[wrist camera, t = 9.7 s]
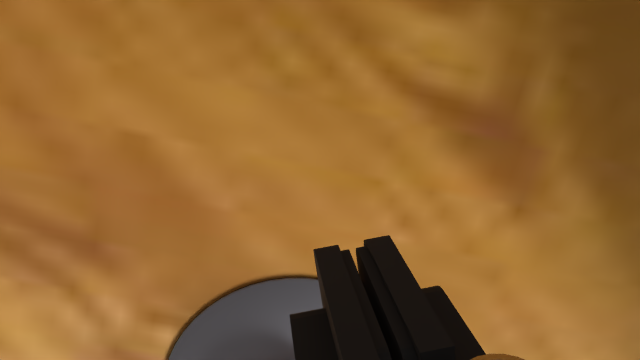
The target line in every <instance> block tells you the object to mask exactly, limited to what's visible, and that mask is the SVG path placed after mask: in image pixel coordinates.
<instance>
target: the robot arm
mask: <svg viewBox="0 0 640 360" xmlns="http://www.w3.org/2000/svg"><path fill="white" fill-rule="evenodd" d="M356 256H357V264H358V271H359V273H358V271H357V268H356V266H355V263H354V261H353V258H352V256H351V253H350V251H349V250H343V251H340V248H339V246H338V245H334V246H329V247H324V248H318V249H314V257H315V263H316V269H317V276H318V282H319V288H320V294H321V300H322V306H323V308H321V309H316V310H311V311H305V312H300V313H295V314H290V324H291V332H292V339H293V347H294V355H295V360H524V359H522V358H519V357H516V356H511V355H506V354H485V352H484V351H483V349H482V348H481V346H480V345H479V343H478V342H477V340H476V339H475V337H474V336H473V334H472V333H471V331H470V330H469V328H468V327H467V325H466V324H465V322H464V321H463V319H462V318H461V316H460V315H459V313H458V312H457V310H456V309H455V307H454V306H453V304H452V303H451V301H450V300H449V298H448V297H447V295H446V294H445V292H444V291H443V289H442V288H441V287H440V286H433V287H428V288H423V289H421V288H420V286H419V285H418V283H417V281H416V280H415V278H414V276H413V274H412V273H411V271H410V269H409V268H408V266H407V264H406V263H405V261H404V259H403V258H402V256H401V254H400V253H399V251H398V249H397V247H396V246H395V244H394V242H393V241H392V239H391V237H390V236H389V235H388V236H382V237H377V238H372V239H366V240H364V247H359V248H356Z"/></svg>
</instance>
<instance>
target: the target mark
mask: <svg viewBox="0 0 640 360" xmlns="http://www.w3.org/2000/svg"><path fill="white" fill-rule="evenodd" d="M321 308H323V306H322V300H321V294H320V288H319V282H318V279H313V278H281V279H274V280H268V281H264V282H260V283H256V284H252V285H249V286H247V287H244V288H241V289H239V290H236V291H234V292H232V293H230V294H228V295H226V296H224V297H222V298H220V299H219V300H218V301H216V302H215V303H213V304H212V305H210V306H209V307H207V308H206V309H205V310H204V311H203V312H201V313H200V314H199V315H198V316H197V317H196V318H195V319H194V320H193V321H192V322H191V323H190V324H189V326H188V327H187V328H186V329H185V330H184V331H183V333H182V334H181V336H180V338H179V339H178V341H177V342H176V344H175V346H174V348H173V350H172V352H171V355H170V357H169V360H295V355H294V347H293V339H292V332H291V324H290V314H295V313H300V312H305V311H311V310H316V309H321Z"/></svg>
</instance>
